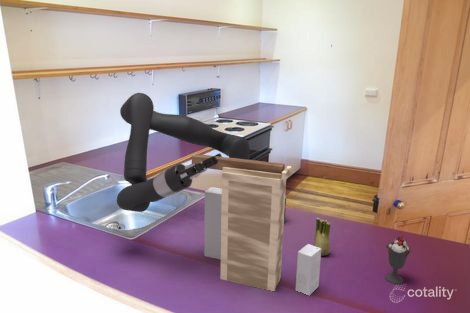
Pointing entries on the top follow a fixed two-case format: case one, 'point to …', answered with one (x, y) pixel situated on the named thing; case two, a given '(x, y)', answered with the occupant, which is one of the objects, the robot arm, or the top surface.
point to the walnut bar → (241, 164)
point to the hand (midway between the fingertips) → (218, 157)
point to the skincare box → (308, 269)
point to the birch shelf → (252, 226)
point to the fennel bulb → (322, 236)
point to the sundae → (397, 258)
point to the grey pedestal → (213, 222)
